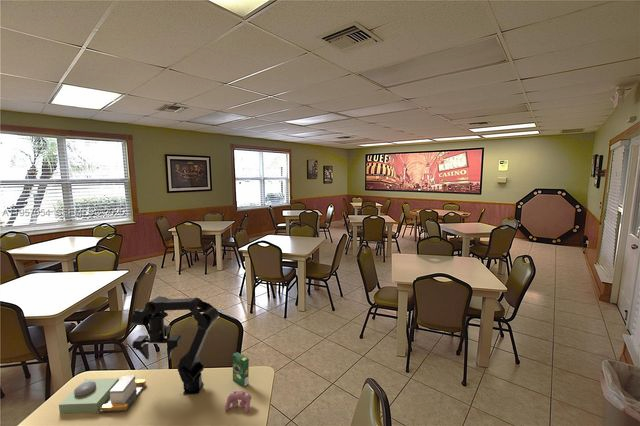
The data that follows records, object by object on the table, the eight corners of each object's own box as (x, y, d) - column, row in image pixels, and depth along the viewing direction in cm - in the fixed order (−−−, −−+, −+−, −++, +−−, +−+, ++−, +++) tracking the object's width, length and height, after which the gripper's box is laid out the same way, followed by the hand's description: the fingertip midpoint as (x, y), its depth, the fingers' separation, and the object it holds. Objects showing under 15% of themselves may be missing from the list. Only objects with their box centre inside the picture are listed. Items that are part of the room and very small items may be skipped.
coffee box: (249, 384, 131) (249, 357, 129) (244, 388, 128) (244, 360, 127) (237, 377, 135) (236, 351, 133) (232, 380, 133) (231, 354, 131)
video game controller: (250, 410, 118) (253, 390, 120) (247, 414, 114) (249, 393, 116) (227, 408, 119) (230, 389, 121) (223, 411, 115) (226, 391, 117)
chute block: (136, 387, 126) (135, 375, 125) (123, 404, 117) (122, 390, 116) (124, 388, 125) (123, 375, 124) (110, 404, 116) (109, 391, 115)
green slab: (119, 386, 128) (118, 375, 127) (97, 412, 114) (96, 399, 113) (85, 387, 126) (84, 376, 126) (59, 413, 113) (58, 401, 112)
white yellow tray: (145, 384, 129) (145, 379, 129) (125, 412, 114) (125, 406, 114) (122, 385, 128) (121, 380, 128) (99, 413, 113) (98, 407, 113)
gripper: (185, 316, 135) (187, 347, 137) (144, 317, 133) (146, 348, 135) (175, 329, 124) (177, 362, 126) (130, 330, 122) (132, 364, 124)
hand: (158, 358), depth 128 cm, fingers open, 9 cm apart
